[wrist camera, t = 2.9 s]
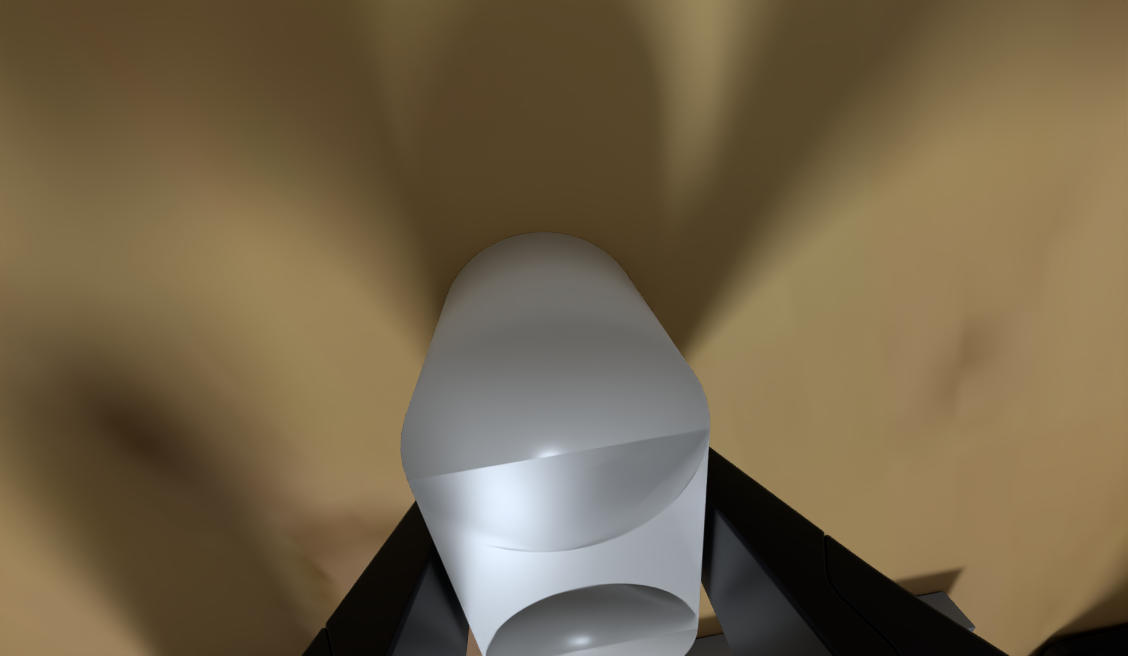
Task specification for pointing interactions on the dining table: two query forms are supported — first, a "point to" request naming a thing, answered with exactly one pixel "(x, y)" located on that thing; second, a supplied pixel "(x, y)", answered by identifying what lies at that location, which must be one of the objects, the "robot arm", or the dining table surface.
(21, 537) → the dining table surface
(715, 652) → the slate board
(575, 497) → the grey rounded piece
